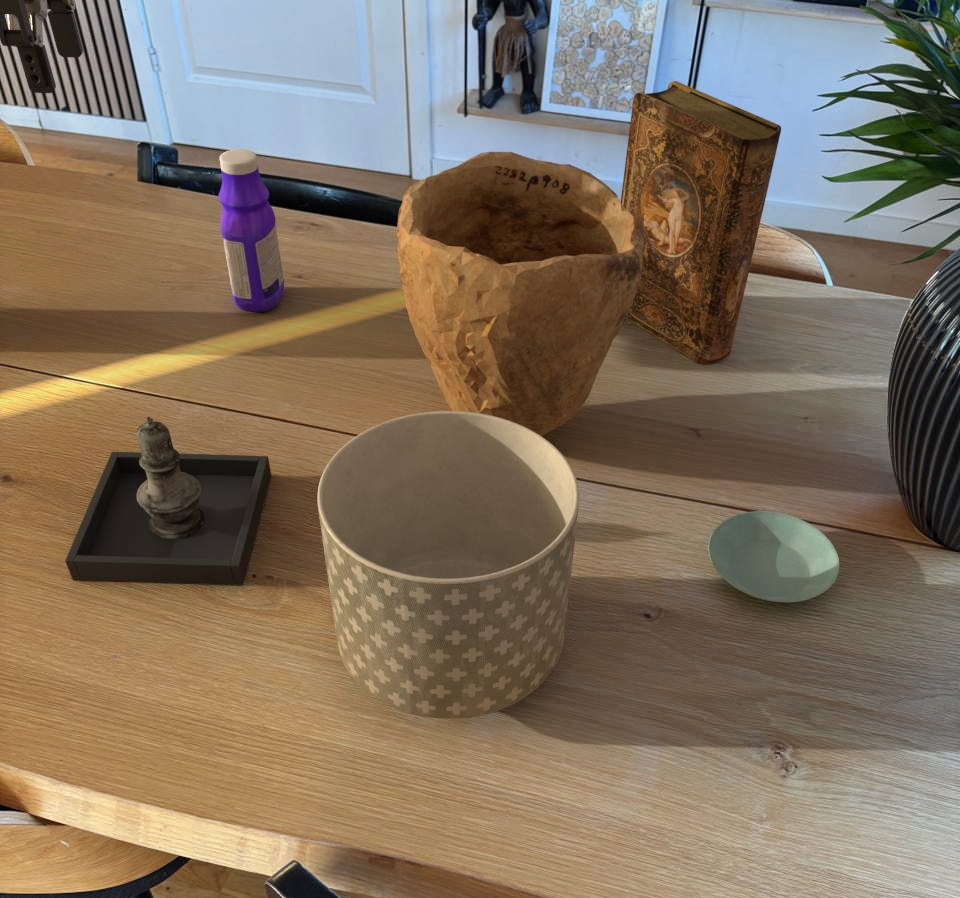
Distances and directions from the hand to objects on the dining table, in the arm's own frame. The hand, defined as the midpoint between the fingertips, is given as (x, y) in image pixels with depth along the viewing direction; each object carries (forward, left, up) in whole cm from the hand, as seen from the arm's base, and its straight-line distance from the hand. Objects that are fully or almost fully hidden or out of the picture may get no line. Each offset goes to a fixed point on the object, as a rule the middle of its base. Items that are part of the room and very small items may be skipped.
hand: (58, 73), depth 93 cm
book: (+62, +9, -30) cm, 70 cm away
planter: (+38, -43, -30) cm, 65 cm away
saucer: (+67, -32, -30) cm, 80 cm away
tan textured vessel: (+43, -12, -30) cm, 54 cm away
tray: (+11, -28, -30) cm, 43 cm away
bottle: (+12, +13, -30) cm, 35 cm away
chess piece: (+11, -28, -30) cm, 42 cm away
